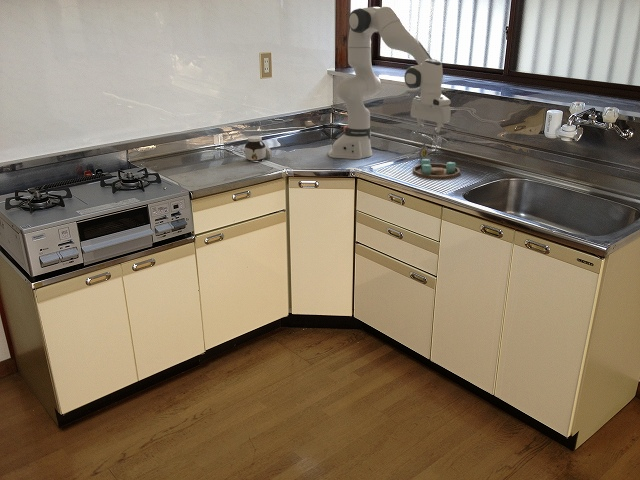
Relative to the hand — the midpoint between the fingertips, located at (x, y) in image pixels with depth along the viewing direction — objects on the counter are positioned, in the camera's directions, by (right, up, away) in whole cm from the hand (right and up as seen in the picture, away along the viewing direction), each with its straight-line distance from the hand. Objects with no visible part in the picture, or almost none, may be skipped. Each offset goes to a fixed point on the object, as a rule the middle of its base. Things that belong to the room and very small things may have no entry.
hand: (428, 130), depth 274 cm
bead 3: (+12, -17, +11) cm, 24 cm away
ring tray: (+5, -18, +12) cm, 22 cm away
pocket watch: (+4, -10, +30) cm, 32 cm away
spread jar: (-78, -8, +38) cm, 87 cm away
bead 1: (+1, -15, +16) cm, 22 cm away
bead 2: (0, -19, +8) cm, 20 cm away
